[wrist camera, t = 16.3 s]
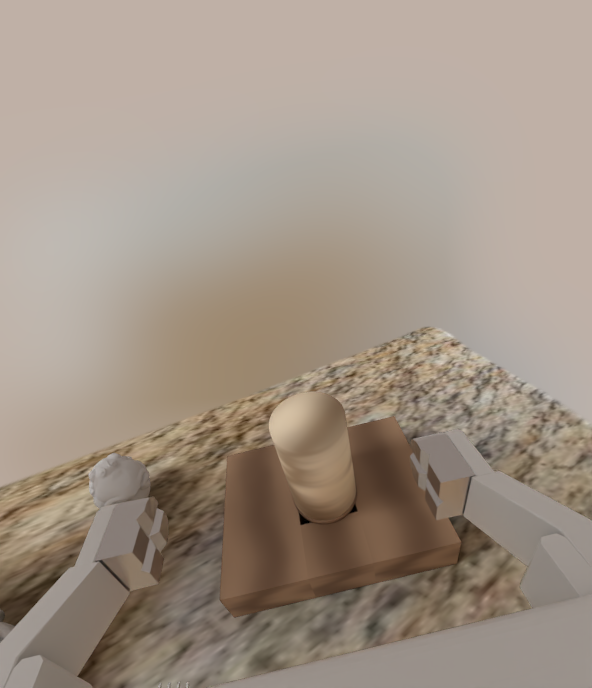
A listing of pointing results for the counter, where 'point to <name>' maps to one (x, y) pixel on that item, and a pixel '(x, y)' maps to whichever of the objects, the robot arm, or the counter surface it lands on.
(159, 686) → the fork
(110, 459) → the frog figurine
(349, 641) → the counter surface
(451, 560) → the walnut board
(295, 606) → the counter surface
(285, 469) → the maple leg
